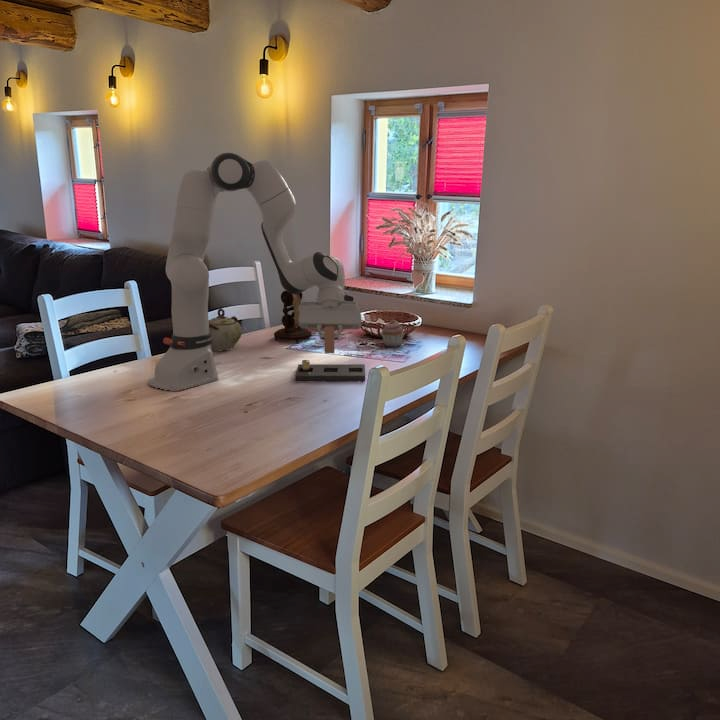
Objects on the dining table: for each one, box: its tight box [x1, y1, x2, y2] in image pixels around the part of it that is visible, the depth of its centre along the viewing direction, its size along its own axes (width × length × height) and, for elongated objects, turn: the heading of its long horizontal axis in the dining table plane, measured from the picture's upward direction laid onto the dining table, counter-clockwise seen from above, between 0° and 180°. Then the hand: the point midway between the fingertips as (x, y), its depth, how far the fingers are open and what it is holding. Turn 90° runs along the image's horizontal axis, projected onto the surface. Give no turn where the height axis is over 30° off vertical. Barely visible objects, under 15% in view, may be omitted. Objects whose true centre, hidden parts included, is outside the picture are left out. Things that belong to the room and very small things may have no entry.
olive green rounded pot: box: [209, 308, 243, 351], centre depth 230 cm, size 20×15×15 cm
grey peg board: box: [294, 359, 366, 383], centre depth 199 cm, size 22×12×5 cm, turn 90°
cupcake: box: [380, 319, 405, 348], centre depth 235 cm, size 9×9×10 cm
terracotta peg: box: [324, 326, 335, 354], centre depth 197 cm, size 3×3×8 cm
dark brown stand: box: [273, 290, 313, 344], centre depth 242 cm, size 15×15×20 cm
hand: (329, 338), depth 196 cm, fingers closed on terracotta peg, 3 cm apart
